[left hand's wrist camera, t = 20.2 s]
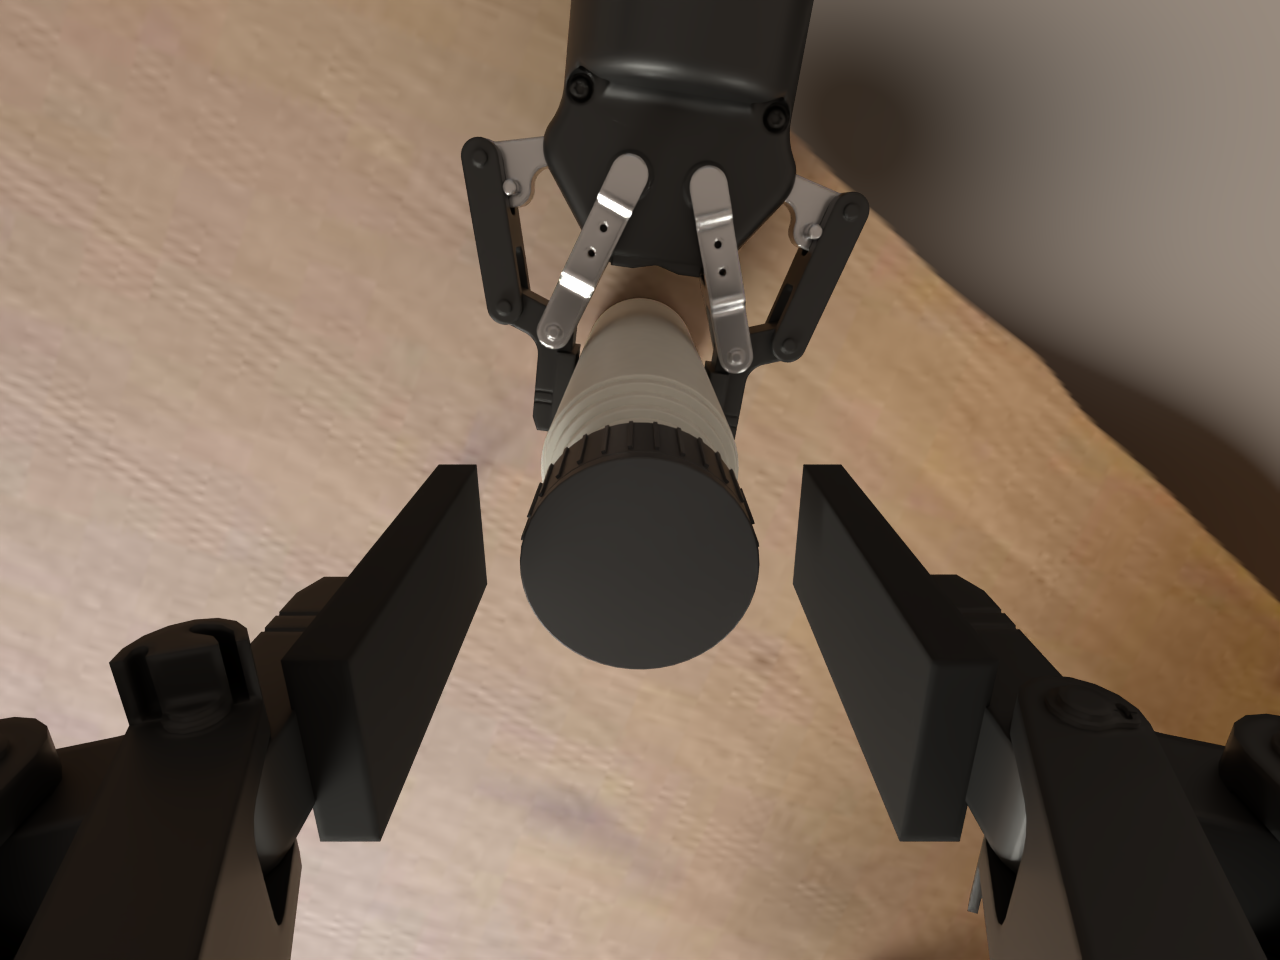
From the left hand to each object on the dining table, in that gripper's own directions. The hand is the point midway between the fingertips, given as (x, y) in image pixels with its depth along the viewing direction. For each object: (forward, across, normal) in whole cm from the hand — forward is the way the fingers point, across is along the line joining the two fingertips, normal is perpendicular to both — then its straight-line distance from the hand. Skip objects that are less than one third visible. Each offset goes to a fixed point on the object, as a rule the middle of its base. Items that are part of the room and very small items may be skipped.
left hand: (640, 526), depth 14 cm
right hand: (+13, 0, -3) cm, 13 cm away
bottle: (+19, 0, 0) cm, 19 cm away
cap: (-2, 0, 0) cm, 2 cm away
